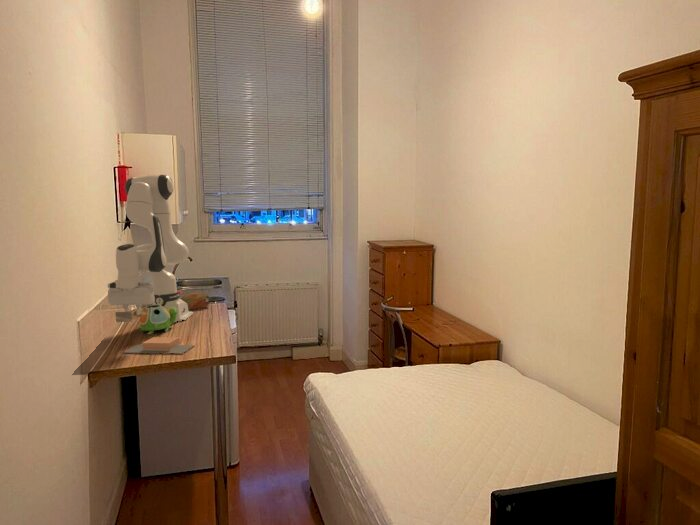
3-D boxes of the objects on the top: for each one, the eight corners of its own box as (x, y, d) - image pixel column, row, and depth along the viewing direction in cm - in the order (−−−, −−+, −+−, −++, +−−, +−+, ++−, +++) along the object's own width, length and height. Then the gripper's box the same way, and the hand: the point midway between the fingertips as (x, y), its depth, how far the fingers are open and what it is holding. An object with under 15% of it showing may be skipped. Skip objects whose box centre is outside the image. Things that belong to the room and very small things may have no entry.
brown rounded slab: (181, 310, 284) (180, 294, 283) (182, 308, 287) (180, 293, 286) (210, 307, 287) (209, 292, 286) (210, 306, 290) (209, 291, 289)
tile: (153, 337, 220) (142, 342, 213) (179, 337, 218) (169, 343, 210) (153, 344, 221) (143, 350, 213) (180, 344, 218) (170, 350, 211)
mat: (137, 345, 221) (137, 344, 221) (194, 346, 216) (194, 345, 216) (123, 353, 211) (122, 352, 211) (182, 354, 206) (182, 353, 206)
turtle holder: (185, 327, 247) (182, 303, 245) (147, 336, 235) (144, 310, 233) (173, 323, 256) (171, 299, 254) (136, 332, 244) (133, 307, 242)
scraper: (136, 314, 234) (136, 305, 233) (151, 314, 232) (150, 305, 232) (116, 321, 219) (115, 312, 219) (131, 321, 218) (130, 312, 218)
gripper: (156, 281, 224) (159, 312, 226) (113, 281, 228) (116, 312, 230) (147, 283, 218) (151, 316, 220) (103, 284, 222) (107, 316, 224)
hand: (133, 314), depth 225 cm, fingers closed on scraper, 2 cm apart
